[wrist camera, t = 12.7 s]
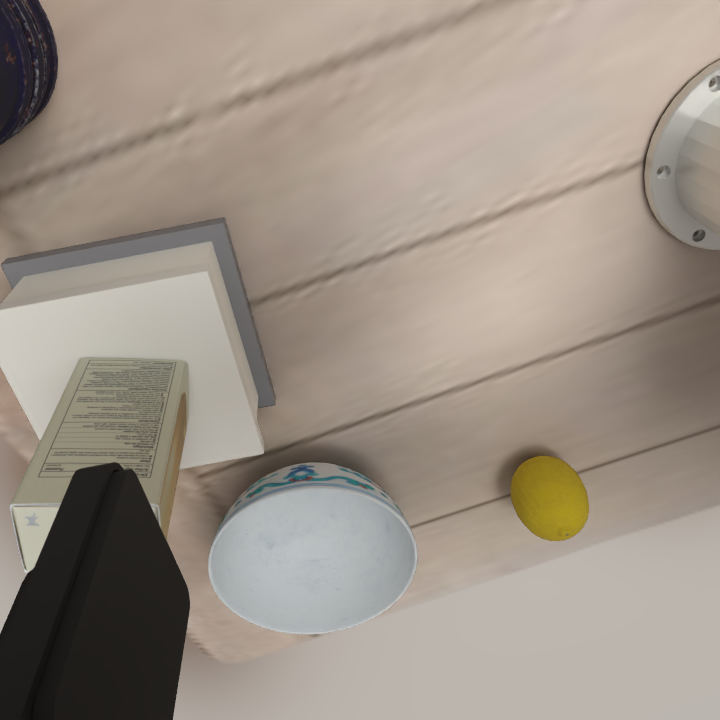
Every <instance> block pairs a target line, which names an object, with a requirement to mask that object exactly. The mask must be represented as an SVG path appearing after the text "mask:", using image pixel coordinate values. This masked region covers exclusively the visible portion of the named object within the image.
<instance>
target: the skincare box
mask: <svg viewBox="0 0 720 720" xmlns="http://www.w3.org/2000/svg"><path fill="white" fill-rule="evenodd" d="M188 419H189V372H188V364H187V362H185V361H175V360H156V359H125V358H81V359H79V361H78V363H77V365H76V367H75V369H74V371H73V373H72V375H71V377H70V380H69V382H68V384H67V386H66V388H65V390H64V392H63V394H62V396H61V399H60V401H59V403H58V405H57V407H56V409H55V411H54V413H53V415H52V418H51V420H50V422H49V424H48V426H47V428H46V430H45V432H44V434H43V436H42V439H41V441H40V443H39V445H38V447H37V449H36V452H35V454H34V456H33V458H32V460H31V462H30V464H29V466H28V468H27V471H26V473H25V475H24V477H23V479H22V481H21V483H20V485H19V487H18V489H17V491H16V494H15V496H14V498H13V500H12V502H11V504H10V511H11V515H12V522H13V526H14V531H15V536H16V542H17V547H18V551H19V555H20V559H21V561H22V565H23V569H24V572H26V573H28V572H30V571H31V570H32V569H33V568H34V567H35V564H36V562H37V560H38V557H39V555H40V552H41V550H42V548H43V545H44V543H45V540H46V538H47V536H48V533H49V531H50V529H51V526H52V524H53V521H54V519H55V517H56V514H57V512H58V510H59V507H60V505H61V502H62V500H63V498H64V495H65V493H66V490H67V488H68V486H69V483H70V481H71V479H72V476H73V474H74V473H75V471H76V470H78V469H80V468H86V467H91V466H96V465H102V464H107V463H112V462H116V463H119V464H120V465H121V466H122V468H123V469H124V470H128V469H132V470H133V471H134V472H135V473H136V475H137V476H138V479H139V481H140V483H141V485H142V488H143V490H144V492H145V494H146V496H147V499H148V501H149V503H150V505H151V507H152V510H153V512H154V514H155V516H156V519H157V521H158V523H159V525H160V527H161V530H162V532H163V534H164V536H165V538H166V539H167V533H168V528H169V522H170V517H171V512H172V507H173V501H174V496H175V490H176V485H177V479H178V474H179V468H180V463H181V458H182V452H183V446H184V441H185V435H186V430H187V425H188Z"/></svg>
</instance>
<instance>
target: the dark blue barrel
mask: <svg viewBox="0 0 720 720" xmlns="http://www.w3.org/2000/svg"><path fill="white" fill-rule="evenodd" d="M57 71H58V56H57V46H56V42H55V38H54V34H53V30H52V28H51V25H50V23H49V20H48V18H47V15H46V13H45V11H44V10H43V8H42V6H41V4H40V2H39V1H38V0H0V145H1V144H2V143H4V142H5V141H6V140H8V139H9V138H11V137H12V136H14V135H15V134H17V133H18V132H19V131H20V130H21V129H22V128H23V127H24V126H25V125H26V124H28V123H29V122H31V121H32V120H34V119H35V118H36V117H37V116H38V115H39V114H40V113H41V112H42V111H43V109H44V108H45V106H46V105H47V103H48V102H49V100H50V98H51V95H52V93H53V90H54V88H55V83H56V79H57Z"/></svg>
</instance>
